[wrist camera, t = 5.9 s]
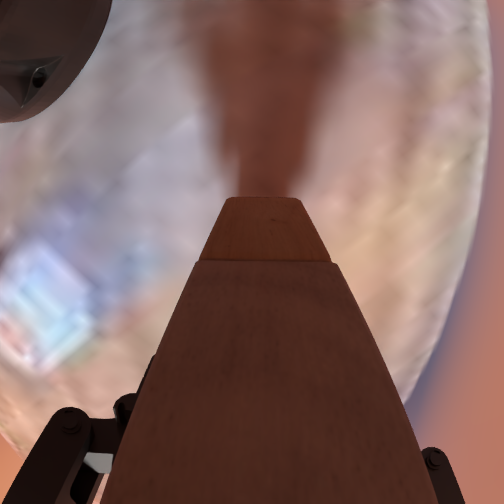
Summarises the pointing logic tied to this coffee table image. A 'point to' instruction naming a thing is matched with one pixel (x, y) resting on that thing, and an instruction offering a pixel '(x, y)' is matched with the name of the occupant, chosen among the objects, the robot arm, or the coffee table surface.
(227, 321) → the brown wooden piece
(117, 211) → the coffee table surface
